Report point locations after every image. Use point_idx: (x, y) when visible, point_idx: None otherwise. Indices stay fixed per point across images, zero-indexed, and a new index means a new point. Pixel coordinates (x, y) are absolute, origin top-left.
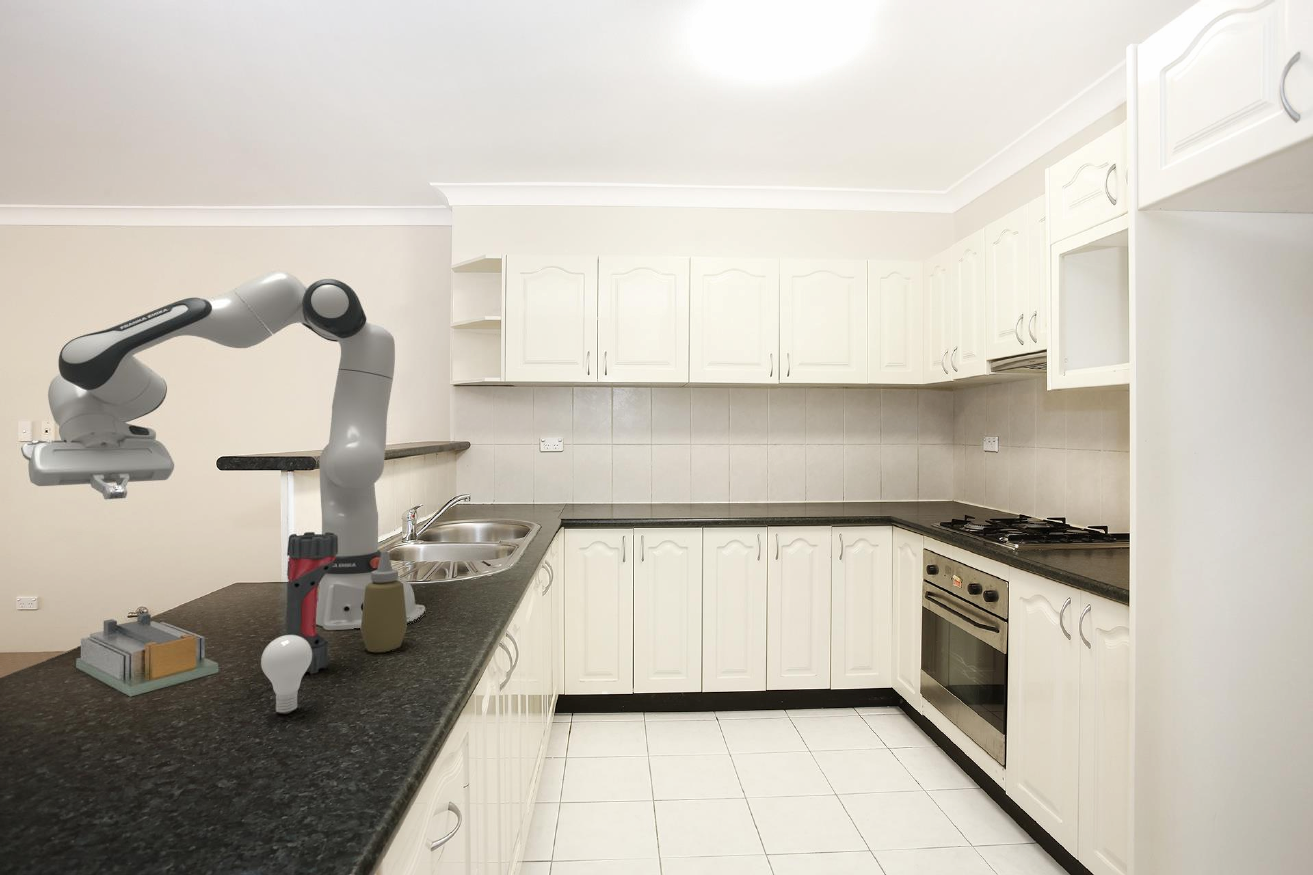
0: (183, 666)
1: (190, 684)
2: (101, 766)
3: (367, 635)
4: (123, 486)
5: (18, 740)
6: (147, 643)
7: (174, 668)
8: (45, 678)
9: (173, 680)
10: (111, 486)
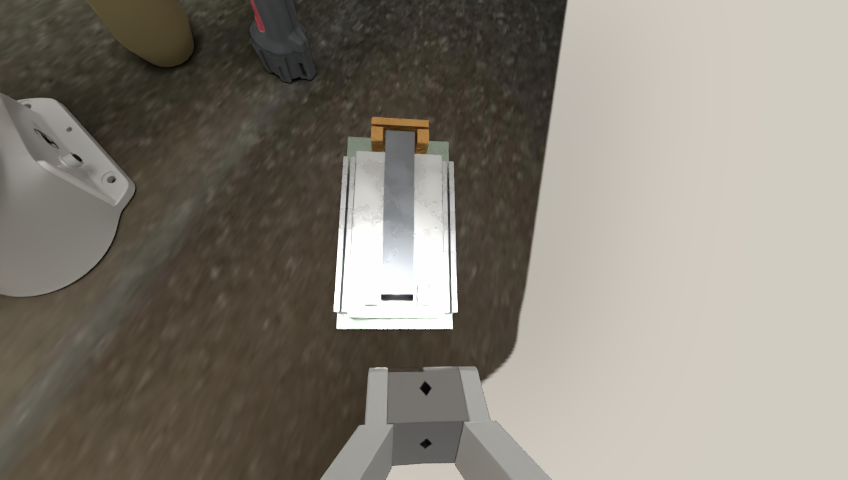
0: None
1: None
2: (513, 17)
3: (188, 23)
4: (377, 413)
5: (545, 120)
6: (426, 141)
7: None
8: (488, 310)
9: None
10: (451, 416)
